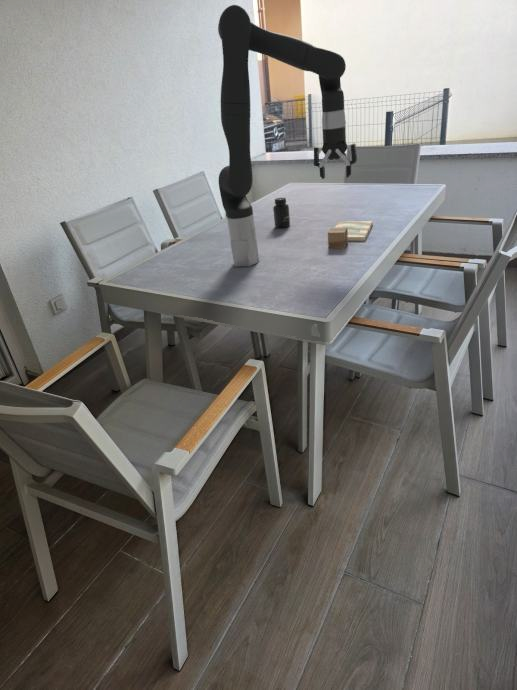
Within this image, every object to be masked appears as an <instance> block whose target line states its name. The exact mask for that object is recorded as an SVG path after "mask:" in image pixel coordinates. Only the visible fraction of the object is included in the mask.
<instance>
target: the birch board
mask: <svg viewBox="0 0 517 690" xmlns="http://www.w3.org/2000/svg"><path fill="white" fill-rule="evenodd" d="M373 224H374V221H373V220H365V221H363V220H362V221H359V220H358V221H354V220H353V221H338V222H337V223H336V225H335V227H334V228H337V227H347V228H348V242H365V241H366V240H367V238H368V236H369V233H370V231H371V229H372V227H373Z"/></svg>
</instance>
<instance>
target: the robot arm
mask: <svg viewBox="0 0 517 690" xmlns="http://www.w3.org/2000/svg"><path fill="white" fill-rule="evenodd" d="M217 26H218V27H217V32H218V37H219V38H220V40H221V48H222V60H223V62H222V64H223V65H222V76H221V84H220V85H221V86H220V120H221V126H222V130H223V133H224V137H225V139H226V143H227V147H228V153H229V165H226V166H225V167H223V168H222V169H221V171H220V172H219V174H218V187H219V193H220V198H221V203H222V207H223V210H224V212H225V214H226V220H227V227H228V233H229V240H230V247H231V253H232V254H231V255H232V260H233V266H234V267H243V268H245V267H248V268H249V267H251V266H253V265H256V264H258V263H259V262H260V257H259V250H258V243H257V234H256V226H255V218H254V217H255V216H254V211H253V206H252V203H250V202H249V200H248V198H247V195H248V194H250V192H251V189H252V186H253V168H252V167H253V166H252V159H251V88H250V87H251V84H250V74H249V72H250V71H249V55H250V54H249V52H250V51H251V52H255V53H258V54H261V55H264V56H267V57H270V58H272V59H274V60H277V61H279V62H281V63H284V64H287V65H288V66H291V67H293V68H295V69H299V70H300V71H301V70H302V71H304V72H305V71H306V72H311V73H313V74H315V75H318V81H319V87H320V92H321V112H322V115H321V129H322V146H318V145H317V146H315V147H314V148H313V166H314V167H318V168H319V177H320V178H321V179H322V180H325V178H326V166H325V165H326V163H327V161H328V160H329V161H333V160H340V159H341V160H342V161H343V162H344V163H345V164H346V166H345V173H346V174H345V176H346V178H347V179H348V178H350V176H351V175H352V165H354V164H356V163H357V161H358V157H357V145H356V143H355V142H353V143H352V144H350V143H349V144H347V138H346V137H347V132H346V129H347V127H346V123H347V122H346V114H345V113H346V112H345V94H344V91H343V90H342V86H341V85H342V84H341V78H342V77H343V75H344V74H345V71H346V69H347V68H346V67H347V66H346V61H345V58H344V57H343V56H342V55H341V54H339V53H337V52H335V51H332V50H328V49H326V48H321V47H317V46H316V45H313V44H311V43H309V42H307V41H304V40H302V39H300V38H297V37H294V36H292V35H287V34H284V33H279V32H274V31H270V30H268V29H265V28H263V27H261V26H258V25H257V24H255V23H253V22H252V21H251V18H250V16H249V14H248V12H247V11H246V9H244V8H243V7H242V6H241V5H239V4H232V5H229V6H228V7H226V8H225V9H224V10H223V12H222V13H221V15H220V17H219V20H218V25H217ZM347 149H348V150H349V152H350V153H351V159H350V158H349V155H347V153H346V151H347ZM321 152H322V153H323V154H324V157H323V158H322V160H321V161H320V154H321Z"/></svg>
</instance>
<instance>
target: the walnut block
mask: <svg viewBox="0 0 517 690" xmlns="http://www.w3.org/2000/svg"><path fill="white" fill-rule="evenodd" d="M327 243H328V244H327V246H328V249H346V247H347V245H348V243H349V241H348V228H347V227H337V228H335V227H330V229H329V230H328V232H327Z"/></svg>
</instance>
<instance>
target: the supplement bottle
mask: <svg viewBox="0 0 517 690" xmlns="http://www.w3.org/2000/svg"><path fill="white" fill-rule="evenodd" d="M272 211H273V222H274V223H273V224H274V227H275V229H285V228H289V227H290V226H291V221H290V218H291V217H290V206H289V205H288V204H287V199H286V197H277V198H275V199H274V206H273V207H272Z"/></svg>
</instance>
